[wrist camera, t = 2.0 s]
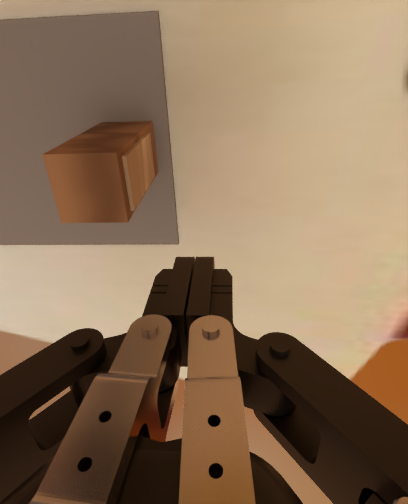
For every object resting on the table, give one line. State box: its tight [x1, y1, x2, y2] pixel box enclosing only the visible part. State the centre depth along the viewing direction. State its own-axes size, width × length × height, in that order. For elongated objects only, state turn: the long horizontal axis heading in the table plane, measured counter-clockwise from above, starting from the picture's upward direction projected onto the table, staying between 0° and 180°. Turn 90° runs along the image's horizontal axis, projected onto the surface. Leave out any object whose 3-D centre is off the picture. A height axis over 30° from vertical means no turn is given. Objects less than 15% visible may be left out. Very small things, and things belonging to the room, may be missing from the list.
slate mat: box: [0, 11, 179, 245], centre depth 34 cm, size 22×22×1 cm
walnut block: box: [42, 121, 158, 223], centre depth 28 cm, size 5×5×12 cm
